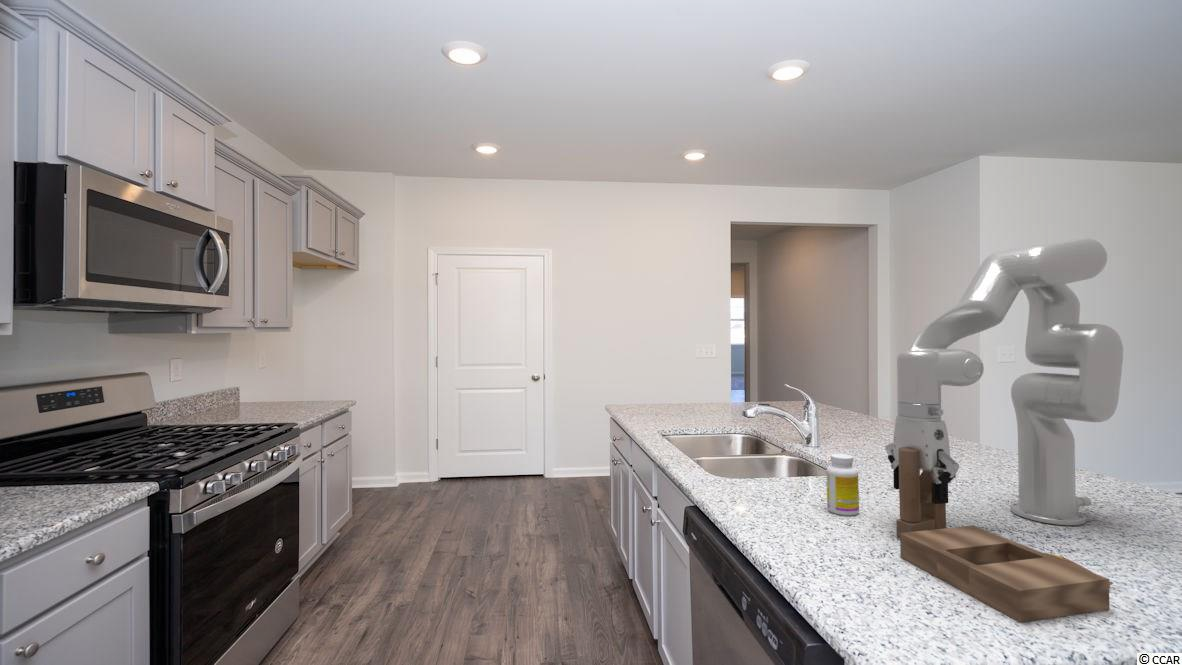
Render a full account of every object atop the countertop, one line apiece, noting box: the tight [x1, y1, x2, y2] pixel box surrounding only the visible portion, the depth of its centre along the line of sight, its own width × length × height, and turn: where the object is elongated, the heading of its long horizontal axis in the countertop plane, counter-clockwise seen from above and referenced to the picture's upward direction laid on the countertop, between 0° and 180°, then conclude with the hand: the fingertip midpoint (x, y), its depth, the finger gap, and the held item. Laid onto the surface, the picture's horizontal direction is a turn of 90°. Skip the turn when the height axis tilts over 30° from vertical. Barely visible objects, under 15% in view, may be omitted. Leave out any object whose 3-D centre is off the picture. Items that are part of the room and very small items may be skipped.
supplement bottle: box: [825, 453, 860, 517], centre depth 120 cm, size 7×7×13 cm
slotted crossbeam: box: [899, 525, 1111, 623], centre depth 86 cm, size 16×22×4 cm
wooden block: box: [895, 447, 947, 539], centre depth 106 cm, size 4×11×18 cm, turn 115°
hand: (919, 495), depth 106 cm, fingers open, 9 cm apart
